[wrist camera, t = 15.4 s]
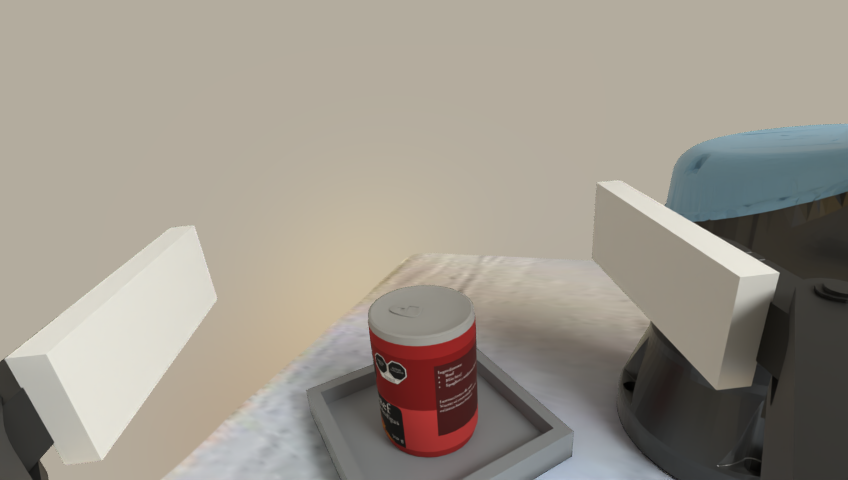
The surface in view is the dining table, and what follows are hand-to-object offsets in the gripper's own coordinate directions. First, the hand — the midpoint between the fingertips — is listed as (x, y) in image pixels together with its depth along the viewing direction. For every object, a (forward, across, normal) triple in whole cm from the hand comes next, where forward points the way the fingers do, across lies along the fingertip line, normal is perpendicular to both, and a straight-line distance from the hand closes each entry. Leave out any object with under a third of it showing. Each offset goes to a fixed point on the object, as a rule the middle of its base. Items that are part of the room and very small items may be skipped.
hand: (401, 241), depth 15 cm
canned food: (+15, 0, -23) cm, 27 cm away
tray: (+15, 0, -24) cm, 28 cm away
